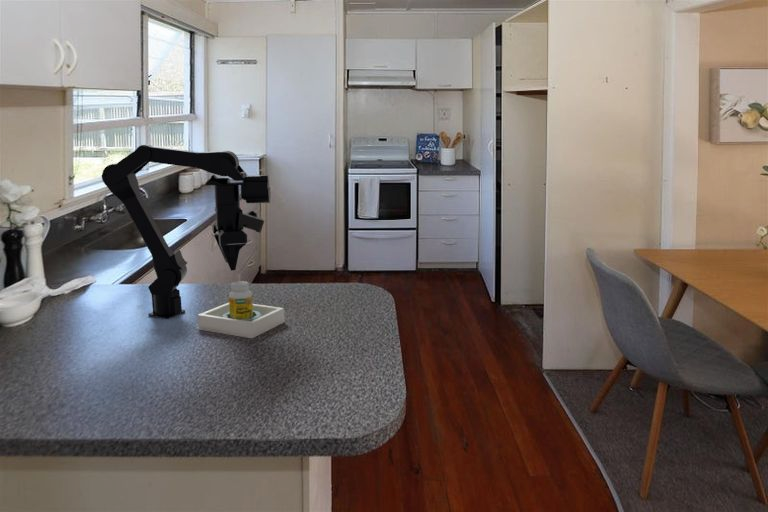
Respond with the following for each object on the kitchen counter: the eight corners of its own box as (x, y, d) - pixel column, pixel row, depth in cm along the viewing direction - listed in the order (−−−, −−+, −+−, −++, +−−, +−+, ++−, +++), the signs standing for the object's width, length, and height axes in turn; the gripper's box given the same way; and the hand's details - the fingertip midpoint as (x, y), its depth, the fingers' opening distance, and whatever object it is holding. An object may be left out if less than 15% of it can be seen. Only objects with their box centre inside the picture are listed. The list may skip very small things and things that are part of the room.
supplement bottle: (248, 317, 158) (246, 279, 156) (256, 323, 153) (255, 283, 152) (226, 321, 155) (224, 282, 153) (234, 327, 151) (233, 286, 149)
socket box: (198, 329, 152) (197, 314, 151) (233, 314, 163) (232, 300, 163) (252, 338, 146) (251, 323, 145) (284, 322, 157) (283, 308, 156)
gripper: (267, 206, 153) (270, 271, 156) (254, 197, 170) (256, 256, 173) (219, 209, 149) (222, 275, 152) (210, 199, 166) (213, 259, 170)
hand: (230, 266), depth 162 cm, fingers open, 9 cm apart
